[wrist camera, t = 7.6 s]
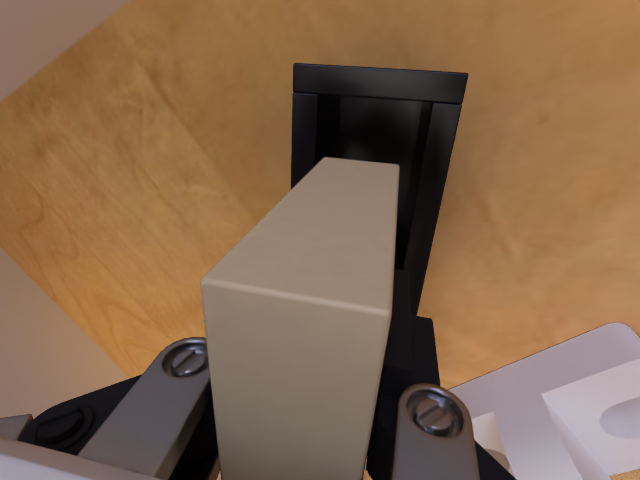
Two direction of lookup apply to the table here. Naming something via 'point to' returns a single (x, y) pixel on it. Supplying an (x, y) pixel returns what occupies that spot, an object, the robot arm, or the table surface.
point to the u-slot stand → (563, 408)
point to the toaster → (383, 139)
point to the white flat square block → (304, 327)
